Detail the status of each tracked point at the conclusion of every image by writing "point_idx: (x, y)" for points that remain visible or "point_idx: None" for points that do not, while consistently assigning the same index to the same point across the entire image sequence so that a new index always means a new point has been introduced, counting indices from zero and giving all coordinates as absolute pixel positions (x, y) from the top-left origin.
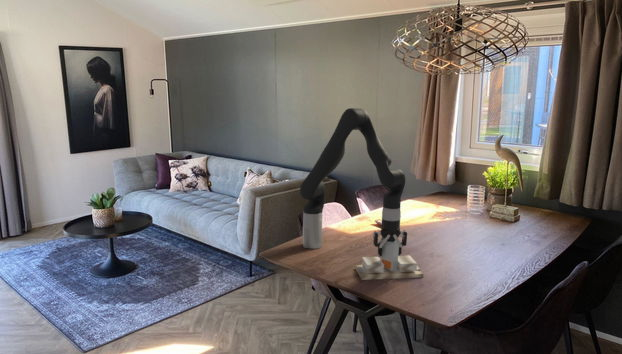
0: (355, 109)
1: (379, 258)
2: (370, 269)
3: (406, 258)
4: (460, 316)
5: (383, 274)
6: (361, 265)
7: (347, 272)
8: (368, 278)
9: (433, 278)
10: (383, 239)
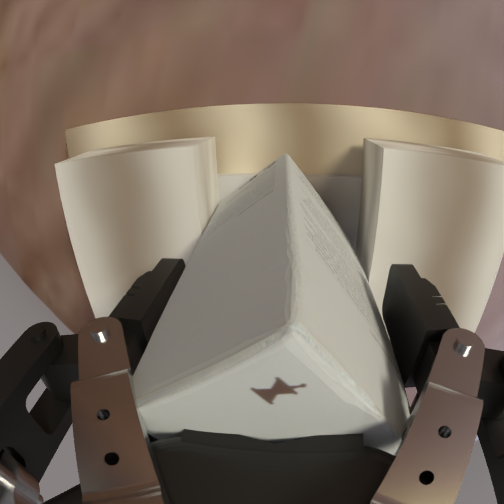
0: None
1: (196, 202)
2: None
3: (467, 236)
4: None
5: None
6: (97, 134)
7: (45, 189)
8: None
9: (493, 312)
10: (131, 423)
